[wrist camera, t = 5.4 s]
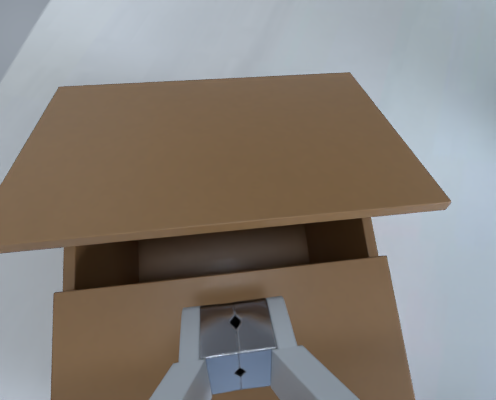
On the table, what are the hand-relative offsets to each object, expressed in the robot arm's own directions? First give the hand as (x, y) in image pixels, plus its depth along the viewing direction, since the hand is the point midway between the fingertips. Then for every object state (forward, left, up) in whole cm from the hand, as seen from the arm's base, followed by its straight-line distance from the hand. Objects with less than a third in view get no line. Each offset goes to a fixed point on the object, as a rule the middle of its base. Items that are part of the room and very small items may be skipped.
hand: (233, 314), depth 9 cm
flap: (-5, -4, -1) cm, 6 cm away
